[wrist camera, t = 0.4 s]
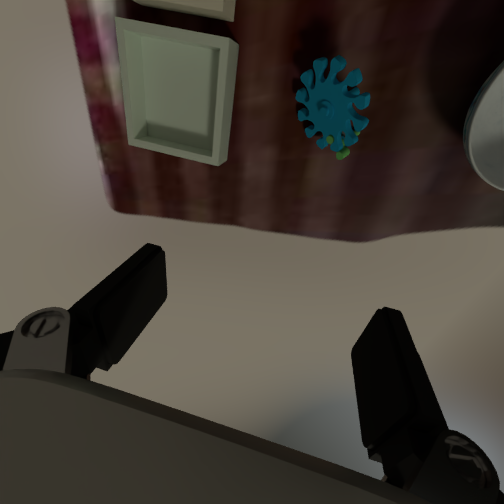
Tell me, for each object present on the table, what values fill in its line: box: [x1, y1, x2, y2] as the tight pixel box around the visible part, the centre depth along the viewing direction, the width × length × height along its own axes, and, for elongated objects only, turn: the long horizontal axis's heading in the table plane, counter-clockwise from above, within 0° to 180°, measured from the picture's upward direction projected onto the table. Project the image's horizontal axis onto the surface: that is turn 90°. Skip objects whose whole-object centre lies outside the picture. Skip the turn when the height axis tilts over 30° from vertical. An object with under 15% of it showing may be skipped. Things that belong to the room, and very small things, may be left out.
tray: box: [115, 17, 239, 166], centre depth 33 cm, size 14×14×4 cm
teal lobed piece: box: [296, 55, 370, 160], centre depth 29 cm, size 11×6×10 cm
